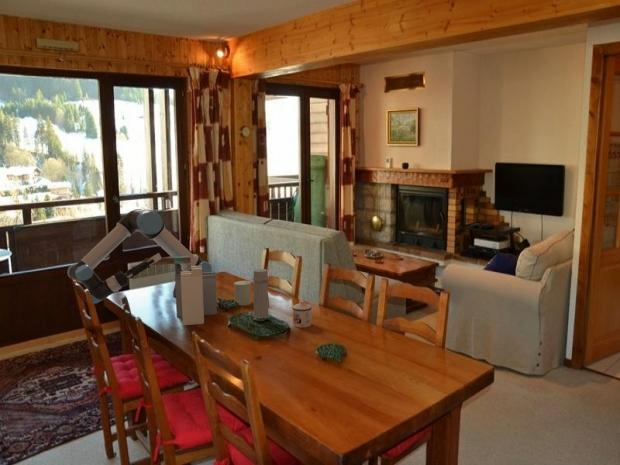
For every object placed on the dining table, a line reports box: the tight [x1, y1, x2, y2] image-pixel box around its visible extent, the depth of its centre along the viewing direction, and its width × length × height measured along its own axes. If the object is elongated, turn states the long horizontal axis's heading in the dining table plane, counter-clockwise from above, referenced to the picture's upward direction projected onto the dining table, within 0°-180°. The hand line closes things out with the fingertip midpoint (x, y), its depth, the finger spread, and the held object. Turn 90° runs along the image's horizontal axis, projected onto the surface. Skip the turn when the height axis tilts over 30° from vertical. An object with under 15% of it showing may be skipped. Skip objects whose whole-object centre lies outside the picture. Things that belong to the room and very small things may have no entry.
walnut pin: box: [144, 256, 191, 266], centre depth 268 cm, size 3×22×3 cm, turn 103°
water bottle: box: [252, 268, 270, 318], centre depth 262 cm, size 9×8×25 cm
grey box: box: [174, 271, 218, 318], centre depth 273 cm, size 7×20×20 cm, turn 103°
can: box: [233, 280, 252, 307], centre depth 293 cm, size 9×9×12 cm
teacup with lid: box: [292, 300, 313, 329], centre depth 254 cm, size 12×9×12 cm
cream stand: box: [181, 266, 205, 326], centre depth 260 cm, size 10×10×27 cm
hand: (159, 255), depth 266 cm, fingers closed on walnut pin, 3 cm apart
